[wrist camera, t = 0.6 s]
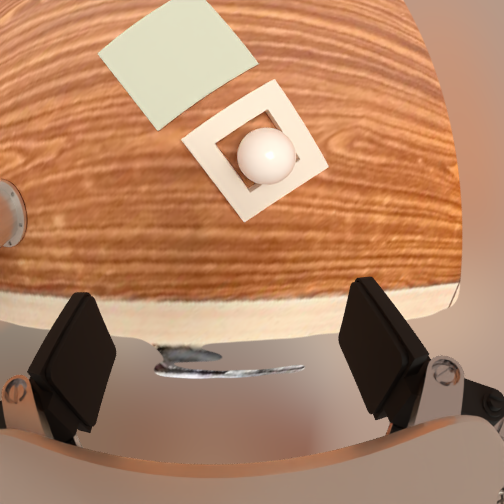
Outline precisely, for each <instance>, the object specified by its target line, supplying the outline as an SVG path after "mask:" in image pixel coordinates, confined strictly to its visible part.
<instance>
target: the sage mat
mask: <svg viewBox="0 0 504 504" xmlns="http://www.w3.org/2000/svg"><path fill="white" fill-rule="evenodd" d="M98 55H99V56H100V57H101V59H102V60H103V61H104V63H105V64H106V65H107V66H108V68H109V69H110V70H111V72H112V73H113V74H114V75H115V77H116V78H117V79H118V81H119V82H120V83H121V84H122V86H123V87H124V88H125V89H126V91H127V92H128V93H129V95H130V96H131V97H132V98H133V100H134V101H135V102H136V104H137V105H138V106H139V107H140V109H141V110H142V111H143V113H144V114H145V115H146V116H147V118H148V119H149V120H150V122H151V123H152V124H153V125H154V127H155V128H156V129H157V131H159V130H161V129H162V128H163V127H164V126H166V125H167V124H168V123H169V122H171V121H172V120H173V119H175V118H176V117H177V116H179V115H180V114H181V113H183V112H184V111H185V110H187V109H188V108H190V107H191V106H192V105H194V104H195V103H197V102H198V101H200V100H201V99H203V98H204V97H206V96H207V95H209V94H210V93H212V92H213V91H215V90H216V89H218V88H219V87H221V86H222V85H224V84H226V83H227V82H229V81H230V80H232V79H234V78H235V77H237V76H239V75H241V74H242V73H244V72H246V71H247V70H249V69H251V68H253V67H255V66H256V65H258V64H259V63H258V62H257V61H256V59H255V58H254V57H253V56H252V54H251V53H250V52H249V50H248V49H247V48H246V47H245V45H244V44H243V43H242V42H241V40H240V39H239V38H238V37H237V35H236V34H235V33H234V32H233V31H232V29H231V28H230V27H229V26H228V25H227V23H226V22H225V21H224V20H223V19H222V18H221V17H220V15H219V14H218V13H217V12H216V11H215V10H214V9H213V8H212V7H211V5H210V4H209V3H208V2H207V1H206V0H171V1H169V2H167V3H166V4H164V5H162V6H161V7H159V8H157V9H156V10H154V11H153V12H151V13H150V14H148V15H147V16H145V17H144V18H142V19H141V20H139V21H138V22H137V23H135V24H134V25H132V26H131V27H130V28H128V29H127V30H126V31H124V32H123V33H122V34H120V35H119V36H118V37H117V38H115V39H114V40H113V41H112V42H111V43H109V44H108V45H107V46H106V47H105V48H103V49H102V50H101V51H100V52H99V53H98Z"/></svg>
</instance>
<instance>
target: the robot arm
mask: <svg viewBox="0 0 504 504" xmlns="http://www.w3.org/2000/svg"><path fill="white" fill-rule="evenodd" d="M26 222H27V218H26V210H25V206H24V203H23V200H22V198H21V195H20V193H19V192H18V190H17V189H16V188H15V186H14V185H13V184H12V183H10V182H9V181H7V180H3V179H0V248H1V247H2V246H5V247H13V246H15V245H16V244H18V243H19V242H20V241H21V240H22V238H23V236H24V234H25V231H26ZM339 344H340V347H341V349H342V352H343V354H344V356H345V358H346V361H347V363H348V365H349V368H350V370H351V372H352V374H353V377H354V379H355V382H356V384H357V386H358V388H359V391H360V393H361V396H362V398H363V401H364V403H365V405H366V408H367V410H368V412H369V413H370V414H373V415H374V418H375V420H378V419H381V418H384V417H388V419H389V421H390V424H389V427H388V430H387V432H386V435H385V436H383V437H380V438H376V439H373V440H370V441H366V442H363V443H359V444H356V445H352V446H348V447H345V448H341V449H337V450H332V451H328V452H323V453H319V454H314V455H309V456H303V457H297V458H290V459H284V460H276V461H266V462H257V463H243V464H182V463H168V462H157V461H148V460H140V459H134V458H128V457H122V456H116V455H110V454H106V453H101V452H97V451H93V450H89V449H85V448H83V447H82V445H81V443H80V441H79V439H78V437H77V435H76V432H77V429H78V430H80V431H84V432H88V433H90V432H91V429H92V426H94V425H95V424H96V421H97V417H98V413H99V410H100V406H101V402H102V399H103V395H104V392H105V389H106V385H107V382H108V379H109V375H110V372H111V369H112V366H113V363H114V360H115V357H116V348H115V345H114V343H113V341H112V339H111V337H110V334H109V332H108V330H107V328H106V325H105V323H104V321H103V318H102V316H101V313H100V311H99V308H98V306H97V303H96V301H95V299H94V297H92V296H91V295H90V294H89V293H87V292H76V293H74V294H73V295H72V297H71V298H70V300H69V301H68V303H67V304H66V306H65V307H64V309H63V310H62V312H61V313H60V315H59V317H58V318H57V320H56V321H55V323H54V325H53V326H52V328H51V330H50V331H49V333H48V335H47V336H46V338H45V340H44V341H43V343H42V345H41V347H40V349H39V350H38V352H37V354H36V356H35V358H34V360H33V362H32V364H31V365H30V367H29V369H28V371H27V372H28V373H29V375H30V376H31V377H30V379H27V377H25V376H23V375H16V376H13V377H11V378H10V379H9V380H8V381H7V382H6V383H5V385H4V386H3V389H2V393H1V398H2V400H1V401H0V504H504V396H503V395H502V393H501V392H499V391H498V390H496V389H494V388H491V387H488V386H485V385H482V384H479V383H476V382H473V381H470V380H467V379H465V378H464V371H463V369H462V367H461V366H460V364H459V363H458V362H457V361H456V360H454V359H453V358H450V357H448V356H437V357H435V358H433V359H432V360H431V359H430V358H429V356H428V355H429V353H428V351H427V350H426V348H425V347H424V346H423V344H422V343H421V341H420V340H419V338H418V337H417V336H416V334H415V333H414V331H413V330H412V329H411V327H410V326H409V324H408V323H407V321H406V320H405V319H404V317H403V316H402V315H401V313H400V312H399V311H398V309H397V308H396V307H395V305H394V304H393V303H392V301H391V300H390V299H389V297H388V296H387V295H386V294H385V292H384V291H383V290H382V288H381V287H380V286H379V285H378V283H377V282H376V281H375V280H374V278H372V277H362V278H357V279H356V280H355V282H353V283H352V284H351V286H350V290H349V295H348V300H347V304H346V308H345V313H344V317H343V321H342V325H341V329H340V333H339Z"/></svg>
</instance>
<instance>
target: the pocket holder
mask: <svg viewBox="0 0 504 504" xmlns="http://www.w3.org/2000/svg"><path fill="white" fill-rule="evenodd" d="M264 111H265V112H266V113H267V115H268V116H269V118H270V119H271V121H272V122H273V123H274V125H275V127H276V128H277V130H279V131H281V132H283V133H284V134H286V135H287V136H288V137H289V138H290V140H291V141H292V143H293V145H294V147H295V151H296V162H295V166H294V168H293V170H292V172H291V173H290V174H289V176H288V177H286V178H285V179H284V180H282V181H281V182H278V183H276V184H271V185H262V184H258V183H255V184H254V185H252V186H251V187H249V188H247V186H246V185H245V183H244V182H243V181H242V179H241V178H240V176H239V175H238V174H237V172H236V171H235V170H234V168H233V167H232V165H231V164H230V163H229V161H228V160H227V159H226V157H225V156H224V154H223V153H222V152H221V150H220V149H219V148H218V146H217V145H216V144H215V143H216V142H218V141H219V140H221V139H222V138H224V137H225V136H227V135H228V134H230V133H231V132H233V131H234V130H236V129H237V128H239V127H240V126H242V125H243V124H245V123H246V122H248V121H249V120H251V119H253V118H254V117H256V116H257V115H259V114H261V113H262V112H264ZM181 140H182V141H183V143H184V144H185V145H186V147H187V148H188V149H189V150H190V152H191V153H192V154H193V156H194V157H195V158H196V160H197V161H198V162H199V164H200V165H201V166H202V167H203V169H204V170H205V171H206V173H207V174H208V175H209V177H210V178H211V179H212V181H213V182H214V183H215V185H216V186H217V187H218V188H219V190H220V191H221V192H222V194H223V195H224V196H225V198H226V199H227V200H228V202H229V203H230V204H231V206H232V207H233V208H234V210H235V211H236V212H237V214H238V215H239V216H240V218H241V219H242V220H243V222H246V221H247V220H249V219H250V218H252V217H253V216H255V215H256V214H258V213H259V212H261V211H262V210H264V209H265V208H267V207H268V206H270V205H271V204H273V203H274V202H276V201H277V200H279V199H280V198H282V197H283V196H285V195H286V194H288V193H289V192H291V191H292V190H294V189H295V188H297V187H298V186H300V185H302V184H303V183H305V182H306V181H308V180H309V179H311V178H312V177H314V176H315V175H317V174H319V173H320V172H322V171H323V170H325V169H326V168H328V167H329V166H328V164H327V162H326V161H325V159H324V157H323V155H322V153H321V152H320V150H319V148H318V146H317V145H316V143H315V141H314V139H313V138H312V136H311V134H310V133H309V131H308V129H307V128H306V126H305V124H304V123H303V121H302V120H301V118H300V116H299V115H298V113H297V112H296V110H295V109H294V107H293V105H292V104H291V102H290V101H289V99H288V98H287V96H286V95H285V93H284V92H283V90H282V89H281V88H280V86H279V85H278V83H277V82H276V80H275V79H273V80H272V81H270V82H268V83H266V84H264V85H263V86H261V87H259V88H257V89H256V90H254V91H252V92H251V93H249V94H247V95H246V96H244V97H243V98H241V99H239V100H238V101H236V102H235V103H233V104H231V105H230V106H228V107H227V108H225V109H224V110H222V111H221V112H219V113H218V114H216V115H215V116H213V117H212V118H210V119H209V120H207V121H206V122H205V123H203V124H202V125H200V126H199V127H198V128H196V129H195V130H193V131H192V132H191V133H189V134H188V135H187V136H185V137H184V138H183V139H181Z"/></svg>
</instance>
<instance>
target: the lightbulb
mask: <svg viewBox="0 0 504 504" xmlns="http://www.w3.org/2000/svg"><path fill="white" fill-rule="evenodd" d="M237 161H238V165H239V167H240V169H241V171H242V172H243V174H244V175H245V176H246V177H247V178H248V179H250V180H251V181H253V182H255V183H258V184H262V185H271V184H276V183H278V182H281V181H282V180H284V179H285V178H286V177H288V176H289V174H290V173H291V172H292V170H293V168H294V166H295V162H296V151H295V147H294V145H293V143H292V141H291V140H290V138H289V137H288V136H287V135H286V134H284V133H283V132H281V131H279V130H277V129H274V128H259V129H256V130H253V131H251V132H250V133H248V134H247V135H246V136H245V137H244V138H243V139H242V141H241V143H240V145H239V147H238V151H237Z"/></svg>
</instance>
